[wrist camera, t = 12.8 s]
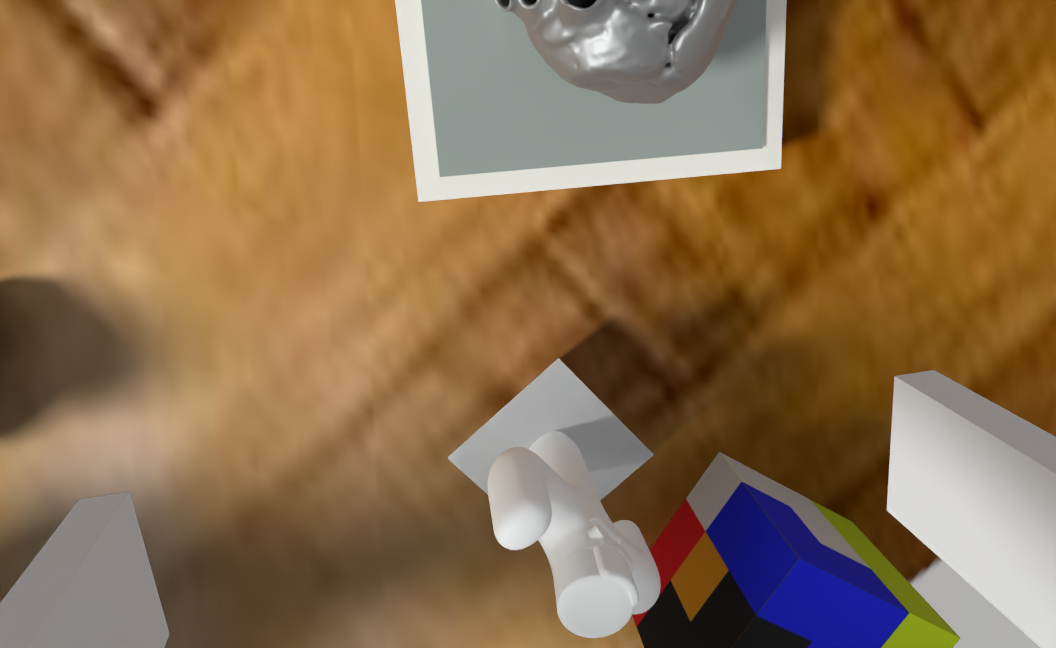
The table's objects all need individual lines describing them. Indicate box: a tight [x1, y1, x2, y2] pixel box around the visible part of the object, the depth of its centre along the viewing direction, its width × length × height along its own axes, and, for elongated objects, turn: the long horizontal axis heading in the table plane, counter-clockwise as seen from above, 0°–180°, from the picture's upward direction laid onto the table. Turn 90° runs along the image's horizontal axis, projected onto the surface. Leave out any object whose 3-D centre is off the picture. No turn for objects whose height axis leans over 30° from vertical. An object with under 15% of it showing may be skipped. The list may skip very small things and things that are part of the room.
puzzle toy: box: [632, 452, 960, 648], centre depth 42 cm, size 10×10×10 cm
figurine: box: [447, 358, 661, 638], centre depth 35 cm, size 7×9×15 cm
